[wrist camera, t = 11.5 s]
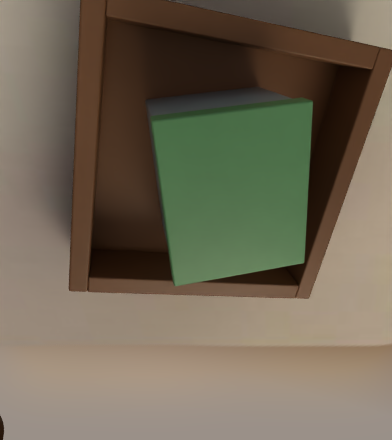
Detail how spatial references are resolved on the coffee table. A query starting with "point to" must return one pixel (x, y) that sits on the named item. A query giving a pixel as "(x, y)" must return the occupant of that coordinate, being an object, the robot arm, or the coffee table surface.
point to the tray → (193, 84)
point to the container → (231, 180)
